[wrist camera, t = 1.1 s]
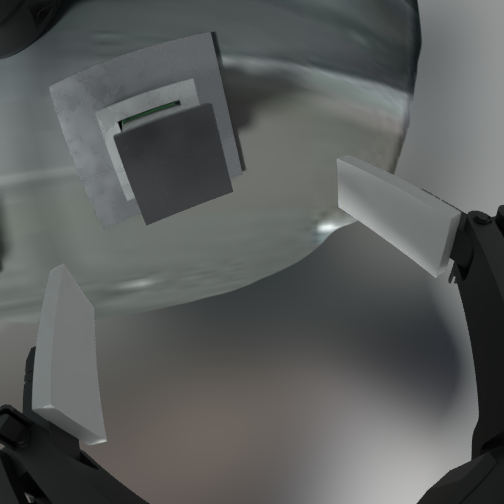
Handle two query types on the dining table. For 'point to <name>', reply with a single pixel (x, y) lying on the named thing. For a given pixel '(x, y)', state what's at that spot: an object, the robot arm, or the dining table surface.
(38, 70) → the dining table surface
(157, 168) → the column
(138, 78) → the stand
